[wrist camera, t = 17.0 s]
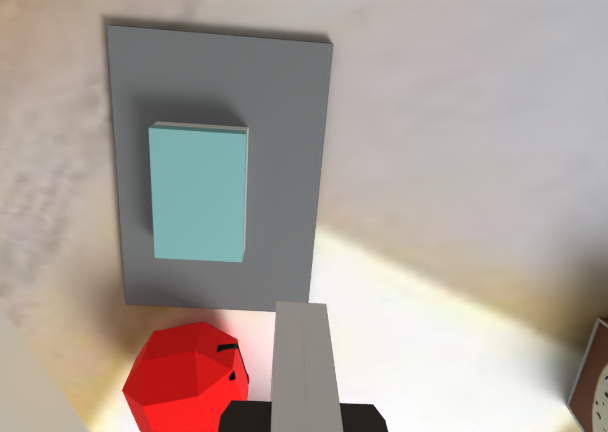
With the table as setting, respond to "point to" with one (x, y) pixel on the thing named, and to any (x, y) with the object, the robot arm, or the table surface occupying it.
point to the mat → (260, 167)
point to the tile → (198, 190)
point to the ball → (185, 379)
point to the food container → (592, 383)
